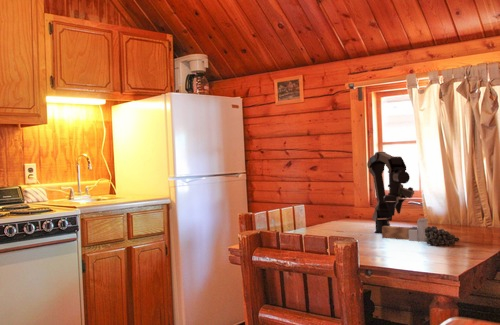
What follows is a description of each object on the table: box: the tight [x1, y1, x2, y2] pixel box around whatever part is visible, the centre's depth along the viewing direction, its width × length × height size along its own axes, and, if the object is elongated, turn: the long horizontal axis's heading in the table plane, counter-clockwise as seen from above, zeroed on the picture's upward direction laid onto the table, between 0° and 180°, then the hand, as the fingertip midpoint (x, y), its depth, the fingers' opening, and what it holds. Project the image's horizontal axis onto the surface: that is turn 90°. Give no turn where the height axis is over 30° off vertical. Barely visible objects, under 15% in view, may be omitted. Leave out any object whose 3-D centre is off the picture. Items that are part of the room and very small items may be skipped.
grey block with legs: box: [408, 217, 429, 242], centre depth 237 cm, size 7×8×10 cm
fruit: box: [425, 225, 460, 247], centre depth 222 cm, size 9×8×15 cm
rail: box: [381, 225, 417, 241], centre depth 242 cm, size 16×4×6 cm, turn 57°
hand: (396, 214), depth 242 cm, fingers open, 9 cm apart
